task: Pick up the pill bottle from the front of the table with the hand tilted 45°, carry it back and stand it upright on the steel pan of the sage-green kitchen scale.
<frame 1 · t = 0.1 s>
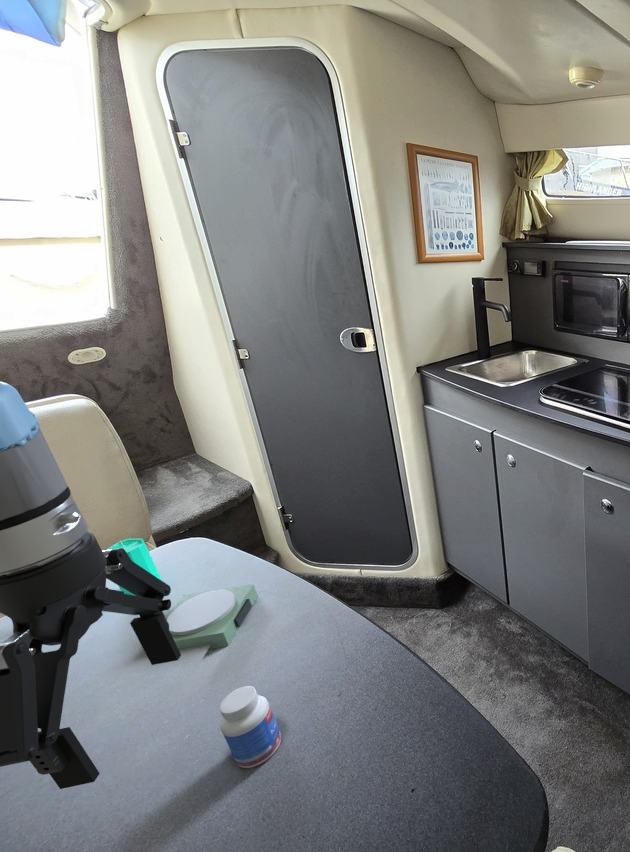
hand: (128, 713, 52), 20 cm above the table, tool pointing down, fingers open, 13 cm apart
kitchen scale: (208, 625, 90), on the table
candle: (144, 590, 99), on the table
pill bottle: (260, 749, 69), on the table
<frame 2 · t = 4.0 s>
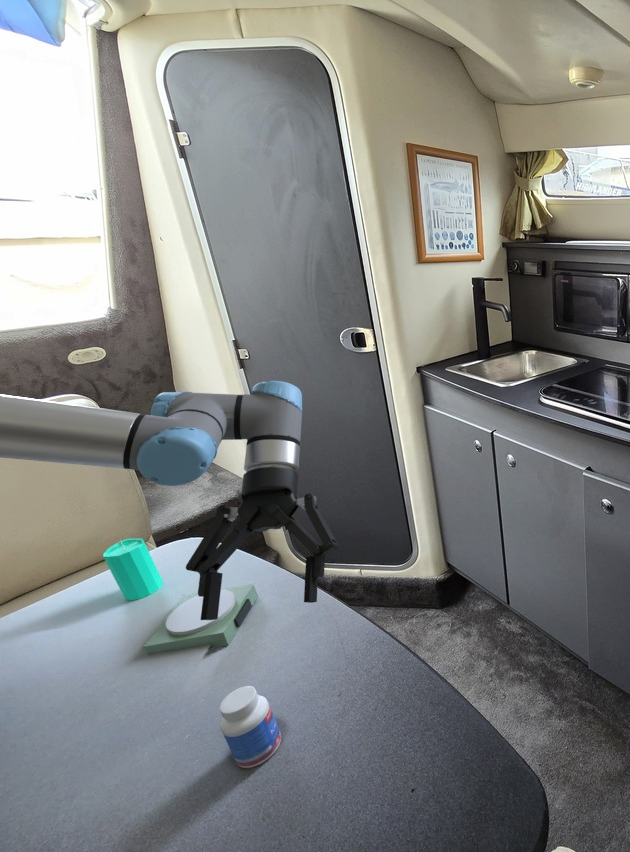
hand: (260, 611, 73), 15 cm above the table, tool tilted 45°, fingers open, 13 cm apart
nothing on the table moved.
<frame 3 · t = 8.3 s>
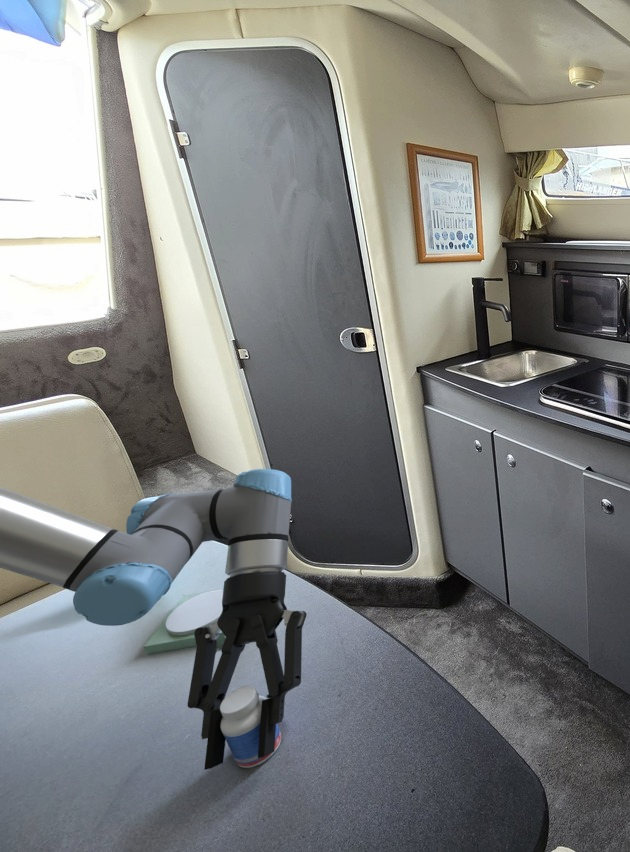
hand: (240, 760, 64), 3 cm above the table, tool tilted 45°, fingers closed on pill bottle, 5 cm apart
pill bottle: (260, 749, 69), on the table, touching gripper
everything else where it was.
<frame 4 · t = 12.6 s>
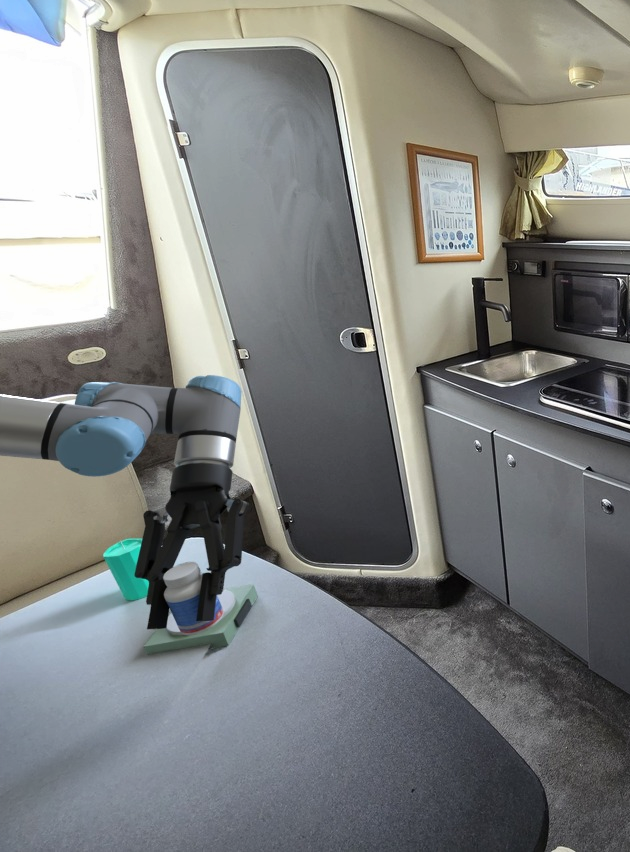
hand: (181, 624, 70), 15 cm above the table, tool tilted 45°, fingers closed on pill bottle, 5 cm apart
pill bottle: (203, 623, 75), point 12 cm above the table, touching gripper
everything else where it was.
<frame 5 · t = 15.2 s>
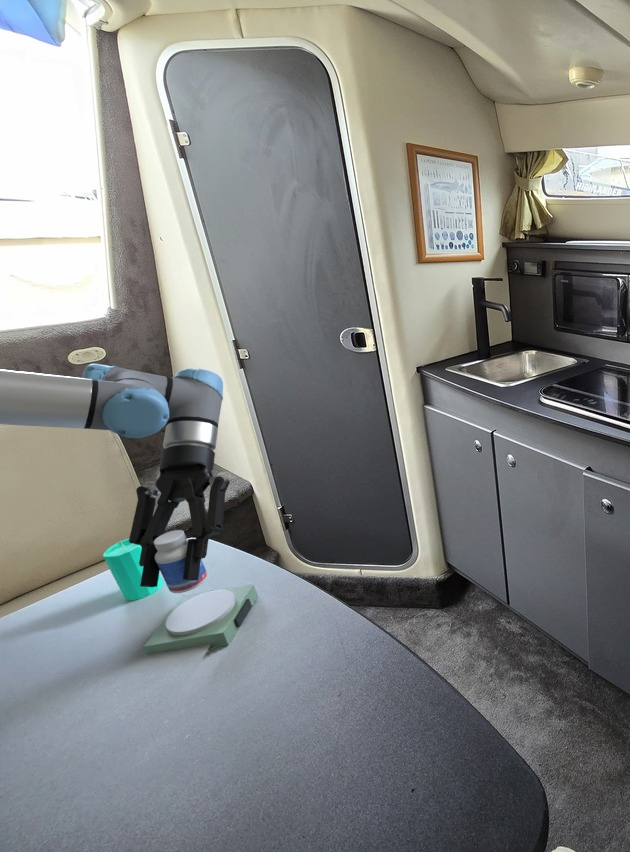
hand: (169, 582, 81), 13 cm above the table, tool tilted 45°, fingers closed on pill bottle, 5 cm apart
pill bottle: (189, 583, 86), point 10 cm above the table, touching gripper
everything else where it was.
when the fingers open (7 cm above the table, at t = 17.2 s): pill bottle stays where it is, resting on kitchen scale.
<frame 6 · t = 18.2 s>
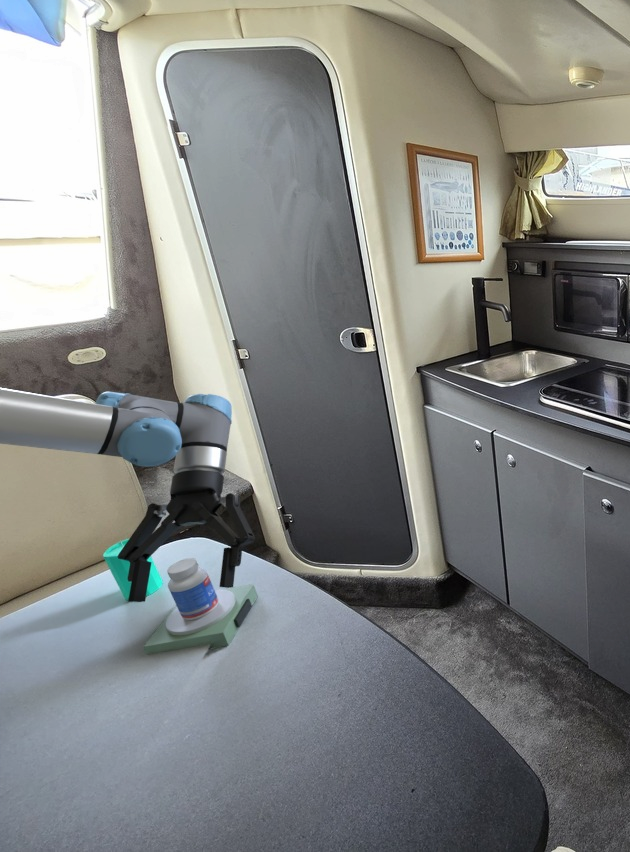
hand: (182, 594, 84), 9 cm above the table, tool tilted 45°, fingers open, 13 cm apart
pill bottle: (201, 610, 88), point 4 cm above the table, touching kitchen scale
everything else where it was.
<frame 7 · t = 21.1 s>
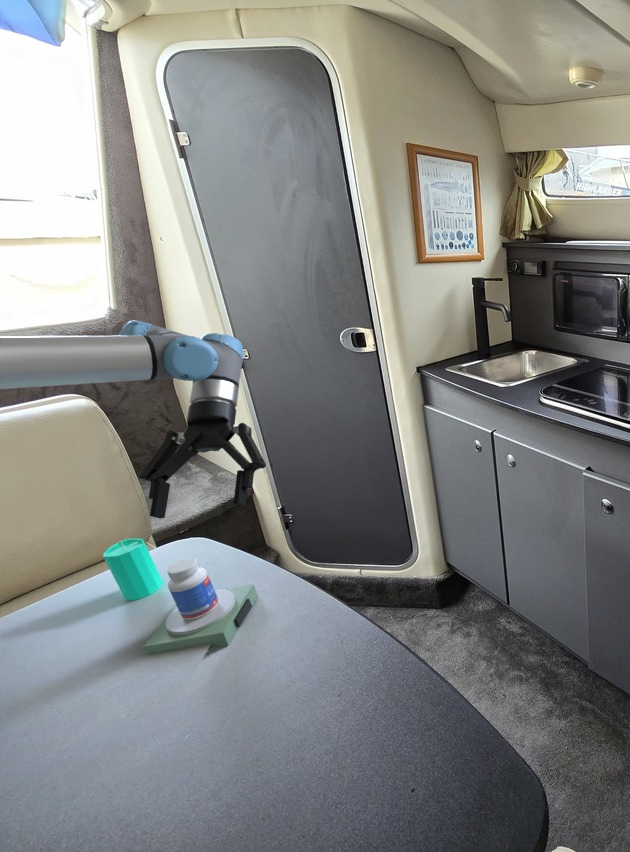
hand: (198, 511, 91), 19 cm above the table, tool tilted 45°, fingers open, 13 cm apart
nothing on the table moved.
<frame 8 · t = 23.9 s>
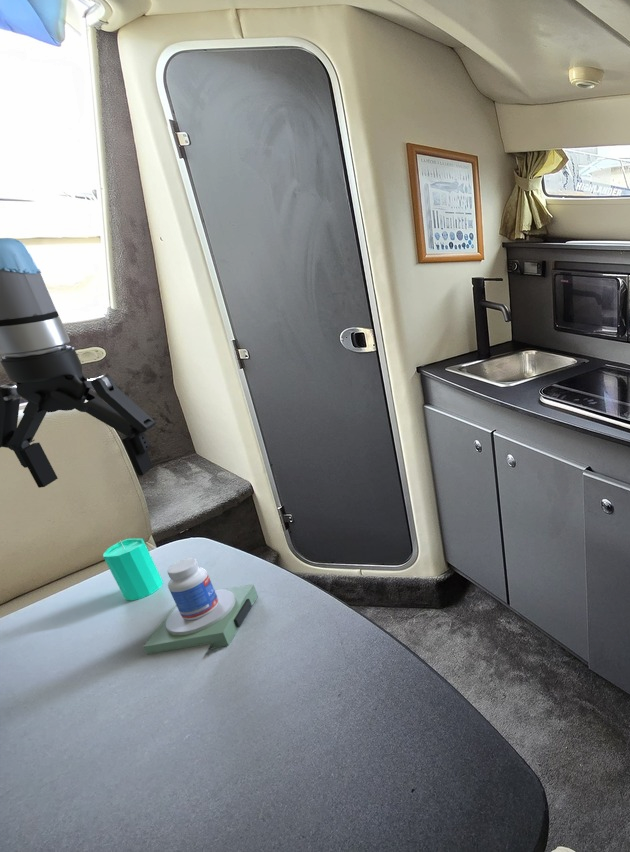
hand: (98, 477, 80), 31 cm above the table, tool pointing down, fingers open, 13 cm apart
nothing on the table moved.
at the end: pill bottle inside the target area on the kitchen scale (0.1 cm from its centre), point 3.6 cm above the kitchen scale's base; pill bottle tilted 0°; the gripper is holding nothing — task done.
